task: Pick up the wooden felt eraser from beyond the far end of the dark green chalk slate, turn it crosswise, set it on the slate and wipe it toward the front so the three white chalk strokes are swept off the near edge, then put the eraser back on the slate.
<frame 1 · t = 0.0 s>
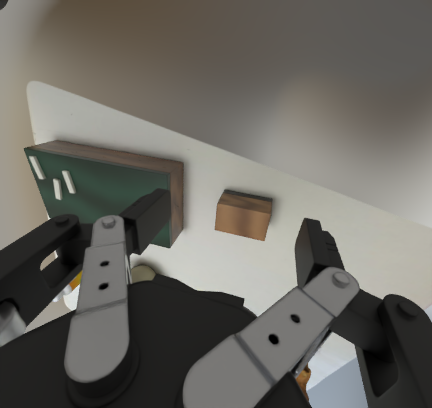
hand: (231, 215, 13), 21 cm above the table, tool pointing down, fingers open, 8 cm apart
chalk stroke 3: (70, 181, 36), point 6 cm above the table, touching chalkboard
supplement bottle: (83, 266, 59), on the table
chalk stroke 1: (38, 167, 37), point 6 cm above the table, touching chalkboard
chalk stroke 2: (59, 188, 38), point 6 cm above the table, touching chalkboard
figurine: (297, 338, 50), on the table
eraser: (245, 206, 37), on the table
chalkboard: (120, 186, 42), on the table
flower pot: (147, 272, 53), on the table
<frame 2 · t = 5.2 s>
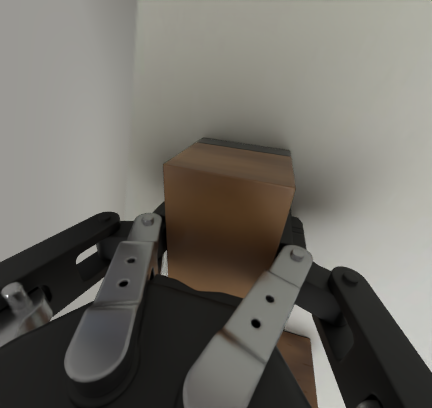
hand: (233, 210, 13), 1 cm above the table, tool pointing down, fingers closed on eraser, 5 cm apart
eraser: (236, 204, 14), on the table, touching gripper
chalkboard: (218, 378, 26), on the table
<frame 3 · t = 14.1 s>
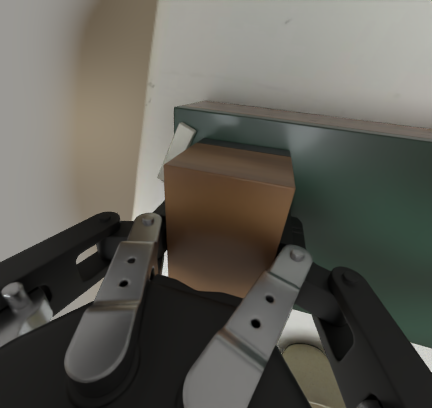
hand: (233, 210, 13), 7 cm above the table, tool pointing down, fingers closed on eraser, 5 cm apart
chalk stroke 1: (177, 154, 14), point 6 cm above the table, touching chalk stroke 2
eraser: (236, 204, 14), point 6 cm above the table, touching chalk stroke 3, gripper
chalkboard: (342, 207, 19), on the table
flower pot: (304, 353, 30), on the table
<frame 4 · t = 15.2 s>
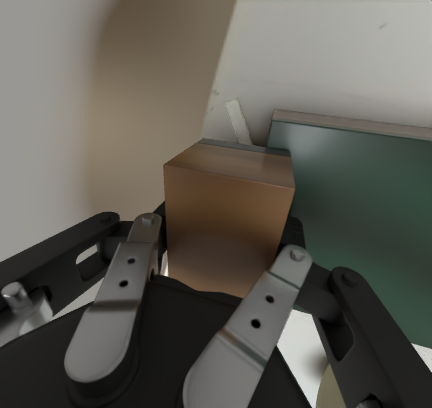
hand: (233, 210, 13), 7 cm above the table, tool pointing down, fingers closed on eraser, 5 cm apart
chalk stroke 1: (239, 126, 17), on the table, tilted 180°, touching chalk stroke 3
eraser: (236, 205, 14), point 6 cm above the table, touching gripper
chalkboard: (416, 221, 17), on the table
flower pot: (348, 367, 29), on the table
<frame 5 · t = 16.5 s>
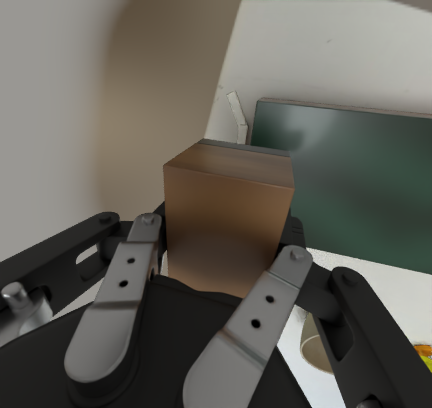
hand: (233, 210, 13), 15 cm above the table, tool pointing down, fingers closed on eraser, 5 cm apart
chalk stroke 3: (241, 143, 25), point 1 cm above the table, tilted 179°, touching chalk stroke 1, chalk stroke 2
chalk stroke 1: (237, 111, 24), on the table, tilted 180°, touching chalk stroke 3
eraser: (235, 205, 14), point 14 cm above the table, touching gripper
chalkboard: (365, 177, 24), on the table
toy figure: (422, 347, 34), on the table
flower pot: (329, 309, 35), on the table
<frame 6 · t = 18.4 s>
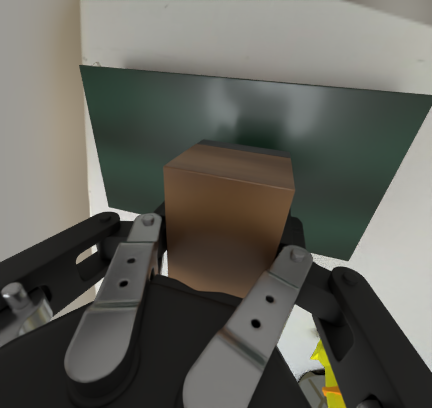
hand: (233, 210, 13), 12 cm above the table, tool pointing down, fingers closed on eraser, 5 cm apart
eraser: (235, 205, 14), point 11 cm above the table, touching gripper
chalkboard: (234, 151, 24), on the table
planter: (343, 392, 41), on the table
toy figure: (329, 329, 34), on the table
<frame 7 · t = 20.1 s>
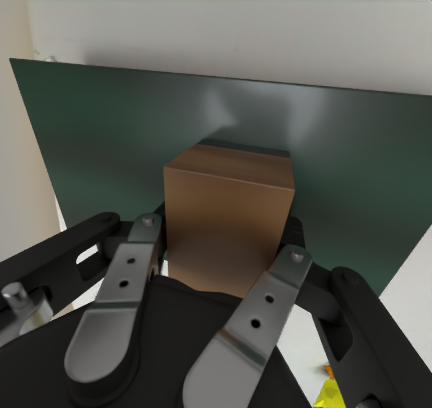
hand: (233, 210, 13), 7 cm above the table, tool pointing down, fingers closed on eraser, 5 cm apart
eraser: (235, 205, 14), point 6 cm above the table, touching chalkboard, gripper
chalkboard: (222, 167, 19), on the table
toy figure: (335, 368, 29), on the table
when the fingers open (7 cm above the table, at t = 20.1 s): eraser stays where it is, resting on chalkboard.
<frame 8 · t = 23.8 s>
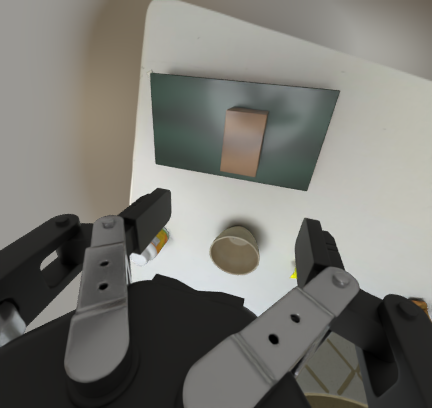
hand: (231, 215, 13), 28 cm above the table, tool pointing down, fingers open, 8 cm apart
supplement bottle: (160, 232, 55), on the table
chalk stroke 1: (153, 83, 37), on the table, tilted 180°
figurine: (410, 304, 45), on the table
eraser: (246, 137, 32), point 6 cm above the table, touching chalkboard
chalkboard: (237, 127, 37), on the table
planter: (318, 317, 54), on the table
flower pot: (239, 235, 48), on the table
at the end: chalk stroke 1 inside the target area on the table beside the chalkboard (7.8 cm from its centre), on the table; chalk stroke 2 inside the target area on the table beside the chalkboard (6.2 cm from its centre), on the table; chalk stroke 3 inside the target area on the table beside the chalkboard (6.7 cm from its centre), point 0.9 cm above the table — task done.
